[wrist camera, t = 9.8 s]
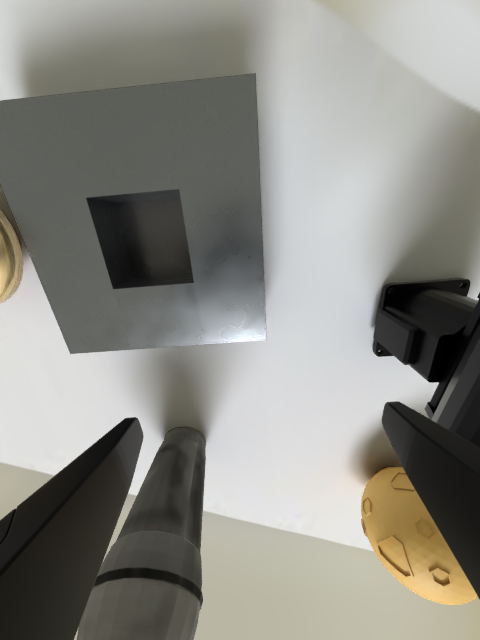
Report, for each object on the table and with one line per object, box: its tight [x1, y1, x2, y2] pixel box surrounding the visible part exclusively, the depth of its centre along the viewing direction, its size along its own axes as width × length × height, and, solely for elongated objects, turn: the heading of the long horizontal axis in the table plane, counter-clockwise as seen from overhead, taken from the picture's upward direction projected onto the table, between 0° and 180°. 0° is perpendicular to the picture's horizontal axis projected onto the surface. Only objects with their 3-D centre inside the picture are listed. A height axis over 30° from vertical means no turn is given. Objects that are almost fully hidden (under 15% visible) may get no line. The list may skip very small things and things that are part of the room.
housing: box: [0, 73, 267, 354], centre depth 16 cm, size 14×14×4 cm
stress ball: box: [361, 467, 478, 605], centre depth 23 cm, size 10×10×10 cm
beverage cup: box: [77, 427, 206, 640], centre depth 16 cm, size 7×7×20 cm
